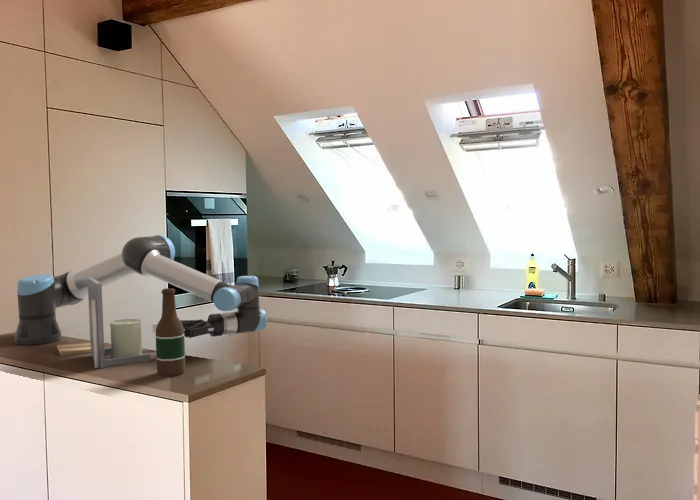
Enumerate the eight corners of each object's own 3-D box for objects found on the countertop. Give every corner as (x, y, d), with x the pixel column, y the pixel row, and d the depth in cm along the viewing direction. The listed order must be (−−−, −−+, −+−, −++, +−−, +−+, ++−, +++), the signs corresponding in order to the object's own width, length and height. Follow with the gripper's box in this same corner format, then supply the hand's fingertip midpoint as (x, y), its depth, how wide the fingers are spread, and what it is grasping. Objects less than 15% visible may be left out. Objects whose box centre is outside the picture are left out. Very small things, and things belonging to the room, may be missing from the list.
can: (113, 362, 189) (111, 323, 188) (109, 356, 197) (108, 319, 196) (144, 359, 193) (143, 320, 192) (139, 353, 201) (138, 316, 200)
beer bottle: (158, 378, 170) (155, 291, 168) (155, 371, 177) (152, 288, 176) (187, 374, 173) (184, 289, 171) (183, 368, 180) (180, 286, 179)
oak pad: (57, 348, 210) (57, 345, 210) (98, 343, 216) (98, 340, 216) (61, 356, 199) (60, 352, 198) (104, 350, 205) (104, 347, 205)
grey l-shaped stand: (86, 356, 198) (82, 278, 197) (137, 349, 206) (134, 274, 204) (95, 369, 181) (91, 284, 179) (151, 361, 189) (148, 280, 187)
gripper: (234, 341, 199) (167, 350, 189) (210, 329, 221) (149, 336, 210) (233, 318, 199) (167, 325, 188) (209, 308, 220) (148, 314, 210)
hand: (157, 331), depth 199 cm, fingers open, 13 cm apart
